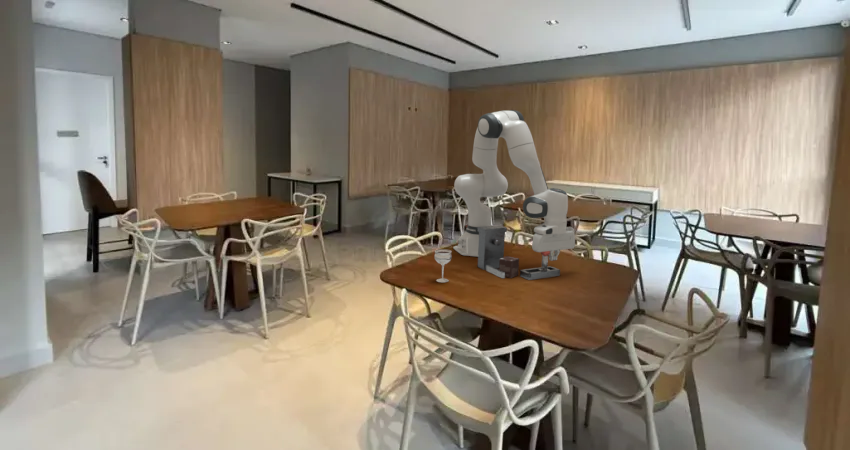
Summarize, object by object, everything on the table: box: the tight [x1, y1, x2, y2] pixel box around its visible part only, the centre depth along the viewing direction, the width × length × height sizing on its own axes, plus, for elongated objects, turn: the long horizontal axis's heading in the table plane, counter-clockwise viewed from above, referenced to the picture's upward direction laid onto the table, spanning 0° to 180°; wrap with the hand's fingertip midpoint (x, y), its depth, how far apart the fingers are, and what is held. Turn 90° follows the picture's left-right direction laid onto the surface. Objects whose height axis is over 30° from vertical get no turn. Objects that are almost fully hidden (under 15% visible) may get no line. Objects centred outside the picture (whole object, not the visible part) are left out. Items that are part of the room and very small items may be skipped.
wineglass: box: [434, 248, 453, 283], centre depth 188 cm, size 7×7×12 cm
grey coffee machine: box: [477, 224, 508, 279], centre depth 202 cm, size 19×11×18 cm, turn 25°
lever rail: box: [519, 265, 561, 281], centre depth 198 cm, size 6×16×3 cm, turn 115°
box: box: [498, 255, 520, 279], centre depth 197 cm, size 6×6×7 cm
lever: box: [538, 251, 550, 272], centre depth 198 cm, size 4×4×10 cm
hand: (552, 260), depth 200 cm, fingers closed
